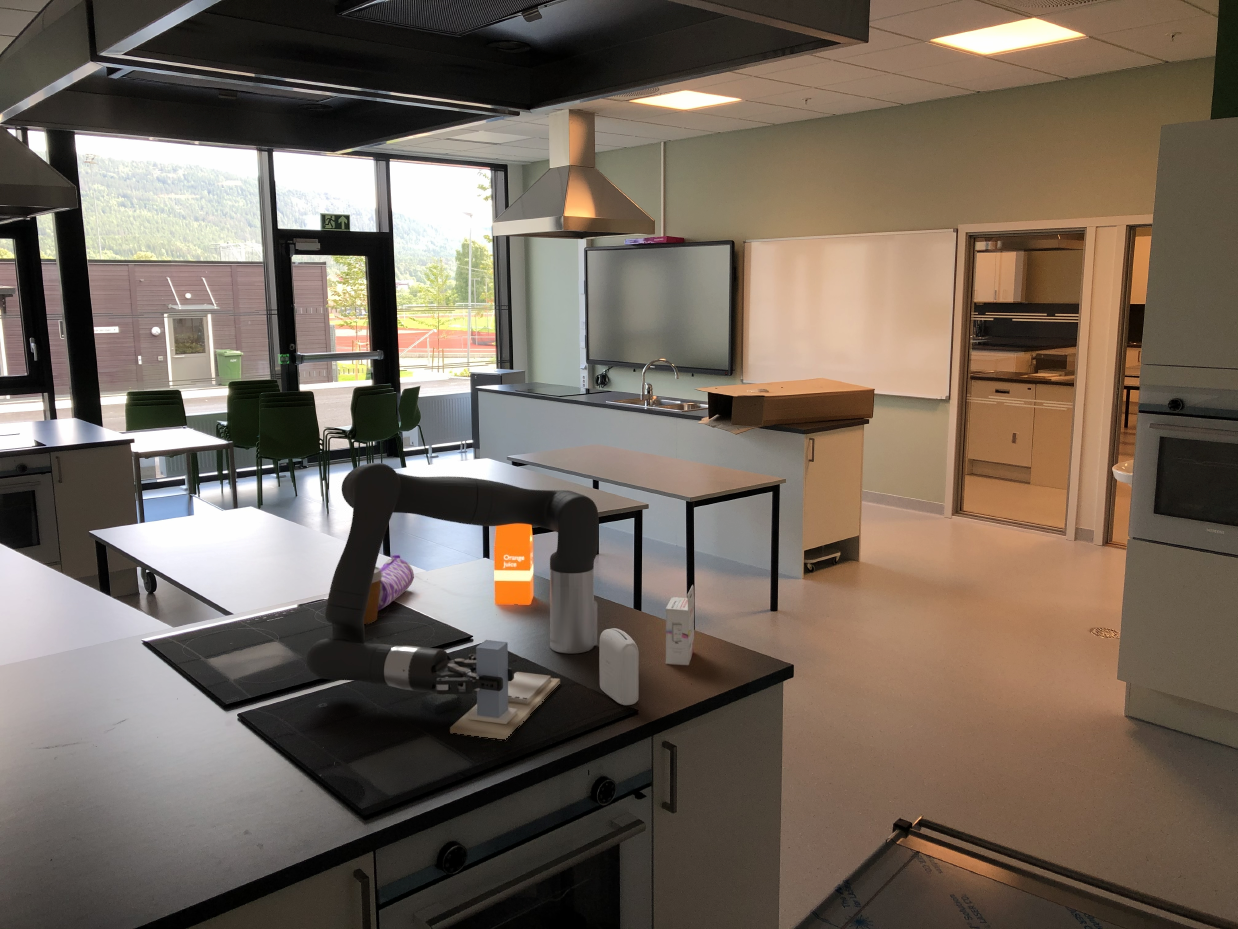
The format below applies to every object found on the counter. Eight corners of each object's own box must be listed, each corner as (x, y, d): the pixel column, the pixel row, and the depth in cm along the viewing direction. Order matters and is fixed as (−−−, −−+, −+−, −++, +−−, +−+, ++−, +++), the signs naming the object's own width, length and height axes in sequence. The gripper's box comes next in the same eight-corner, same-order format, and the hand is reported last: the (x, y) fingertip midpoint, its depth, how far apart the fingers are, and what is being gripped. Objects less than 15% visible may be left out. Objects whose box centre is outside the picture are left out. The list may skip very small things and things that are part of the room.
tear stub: (480, 707, 164) (479, 638, 162) (517, 712, 162) (516, 642, 160) (467, 719, 159) (466, 647, 157) (506, 724, 157) (505, 651, 155)
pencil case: (381, 588, 243) (380, 552, 241) (416, 589, 242) (415, 553, 241) (352, 614, 221) (351, 575, 219) (391, 615, 220) (390, 576, 219)
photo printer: (596, 688, 176) (596, 624, 174) (616, 684, 178) (617, 621, 176) (620, 708, 167) (620, 641, 165) (641, 704, 169) (642, 638, 167)
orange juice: (530, 604, 228) (529, 524, 226) (494, 604, 229) (493, 524, 226) (533, 595, 236) (533, 518, 233) (498, 595, 236) (497, 517, 233)
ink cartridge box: (670, 650, 197) (671, 582, 195) (694, 652, 196) (695, 583, 194) (664, 664, 189) (665, 593, 186) (688, 666, 188) (690, 595, 185)
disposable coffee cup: (392, 619, 217) (391, 568, 215) (361, 630, 209) (359, 578, 207) (364, 612, 222) (362, 563, 220) (332, 622, 214) (330, 571, 212)
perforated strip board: (511, 678, 181) (511, 668, 180) (560, 684, 178) (560, 674, 177) (450, 733, 156) (450, 722, 156) (505, 741, 153) (505, 730, 153)
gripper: (395, 661, 156) (490, 673, 151) (435, 635, 169) (523, 644, 165) (397, 704, 157) (490, 717, 152) (436, 674, 170) (524, 685, 166)
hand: (507, 679), depth 158 cm, fingers closed on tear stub, 4 cm apart
